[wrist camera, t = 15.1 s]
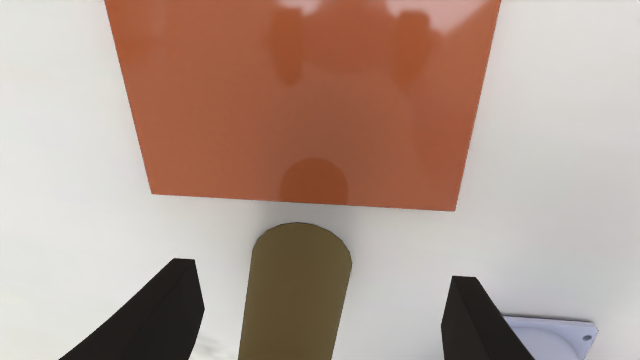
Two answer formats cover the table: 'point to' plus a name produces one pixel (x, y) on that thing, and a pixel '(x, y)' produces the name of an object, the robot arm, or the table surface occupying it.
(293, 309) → the cork
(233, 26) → the tile
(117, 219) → the table surface
